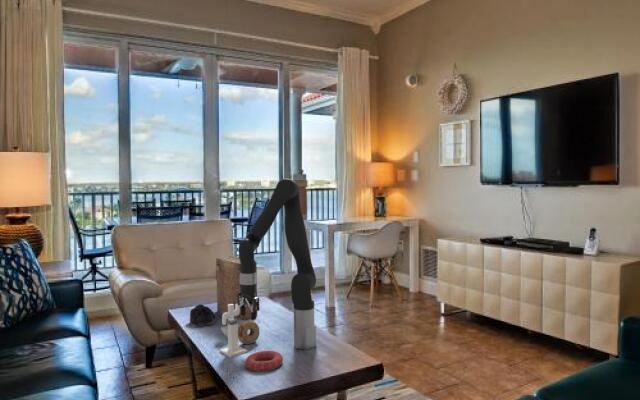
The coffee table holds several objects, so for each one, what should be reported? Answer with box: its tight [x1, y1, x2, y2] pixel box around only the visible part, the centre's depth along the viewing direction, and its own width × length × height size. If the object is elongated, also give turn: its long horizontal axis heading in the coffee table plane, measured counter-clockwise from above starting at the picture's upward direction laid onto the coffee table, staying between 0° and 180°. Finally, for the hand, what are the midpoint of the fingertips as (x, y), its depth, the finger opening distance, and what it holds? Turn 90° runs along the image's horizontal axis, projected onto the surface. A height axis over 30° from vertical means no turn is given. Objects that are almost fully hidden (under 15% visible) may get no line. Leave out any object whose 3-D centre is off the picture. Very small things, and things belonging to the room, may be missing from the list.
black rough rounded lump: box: [189, 303, 217, 328], centre depth 242 cm, size 14×14×10 cm
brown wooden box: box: [215, 256, 258, 321], centre depth 258 cm, size 25×9×30 cm, turn 45°
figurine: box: [220, 304, 240, 337], centre depth 223 cm, size 7×9×15 cm
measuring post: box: [219, 318, 247, 358], centre depth 202 cm, size 8×8×14 cm
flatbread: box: [238, 320, 260, 345], centre depth 212 cm, size 10×4×10 cm, turn 129°
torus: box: [244, 350, 284, 372], centre depth 189 cm, size 16×14×4 cm
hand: (248, 317), depth 212 cm, fingers open, 8 cm apart
